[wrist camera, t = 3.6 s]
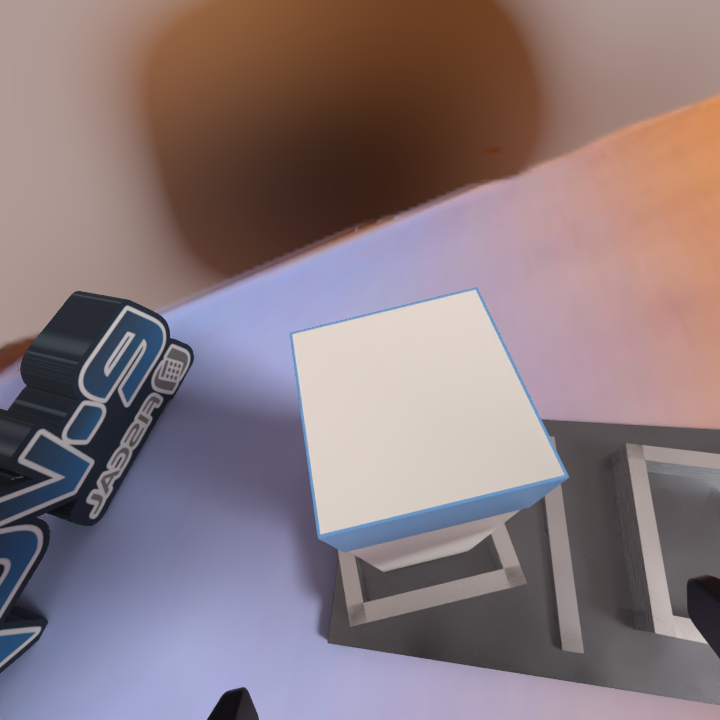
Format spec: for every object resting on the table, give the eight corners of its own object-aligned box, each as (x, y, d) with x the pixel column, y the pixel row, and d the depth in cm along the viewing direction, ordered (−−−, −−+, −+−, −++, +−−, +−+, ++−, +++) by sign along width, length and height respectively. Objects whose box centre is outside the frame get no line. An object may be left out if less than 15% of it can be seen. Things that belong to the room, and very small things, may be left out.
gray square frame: (516, 584, 18) (527, 583, 16) (356, 623, 18) (350, 626, 16) (461, 432, 22) (464, 418, 20) (330, 464, 22) (322, 453, 20)
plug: (469, 552, 18) (569, 477, 6) (383, 573, 18) (318, 538, 6) (434, 445, 21) (458, 250, 9) (360, 463, 21) (284, 293, 9)
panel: (329, 641, 18) (326, 643, 17) (358, 412, 23) (356, 407, 22) (865, 725, 14) (888, 732, 14) (751, 435, 20) (763, 430, 19)
